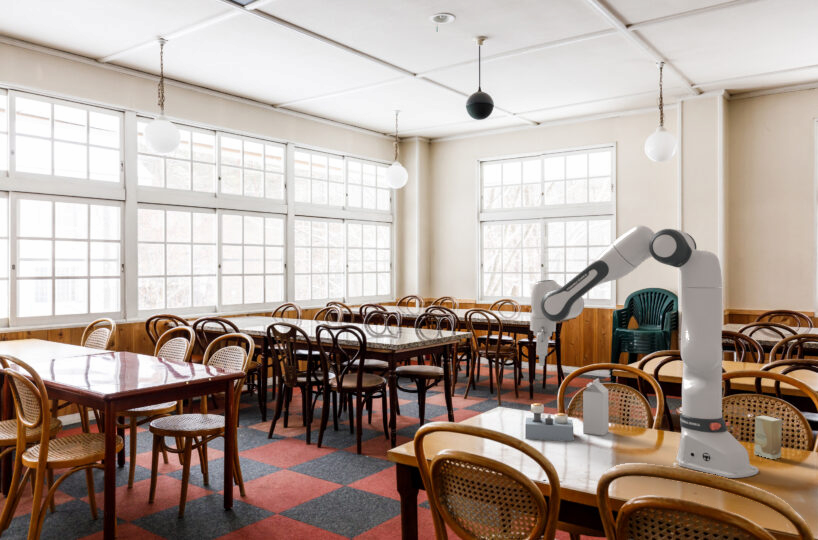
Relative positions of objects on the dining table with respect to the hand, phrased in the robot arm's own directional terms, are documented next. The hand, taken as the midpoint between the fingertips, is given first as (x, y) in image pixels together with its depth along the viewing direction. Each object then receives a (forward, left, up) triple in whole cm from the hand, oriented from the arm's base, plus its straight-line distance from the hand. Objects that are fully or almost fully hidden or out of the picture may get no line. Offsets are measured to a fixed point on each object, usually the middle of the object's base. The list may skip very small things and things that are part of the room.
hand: (541, 365), depth 222 cm
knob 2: (-5, -5, -25) cm, 26 cm away
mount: (-2, -2, -25) cm, 25 cm away
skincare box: (-53, -46, -25) cm, 74 cm away
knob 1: (+1, +1, -22) cm, 22 cm away
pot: (-5, 0, -20) cm, 20 cm away
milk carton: (-6, -20, -25) cm, 32 cm away
